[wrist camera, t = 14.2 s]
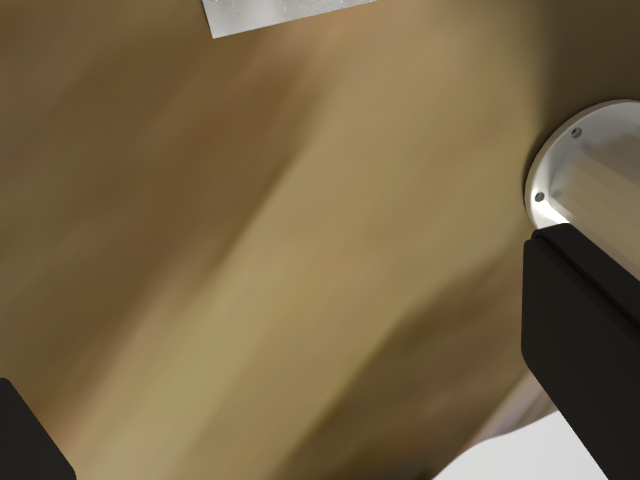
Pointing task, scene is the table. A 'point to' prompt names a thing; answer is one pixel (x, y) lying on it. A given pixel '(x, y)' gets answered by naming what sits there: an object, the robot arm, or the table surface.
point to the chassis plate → (264, 12)
